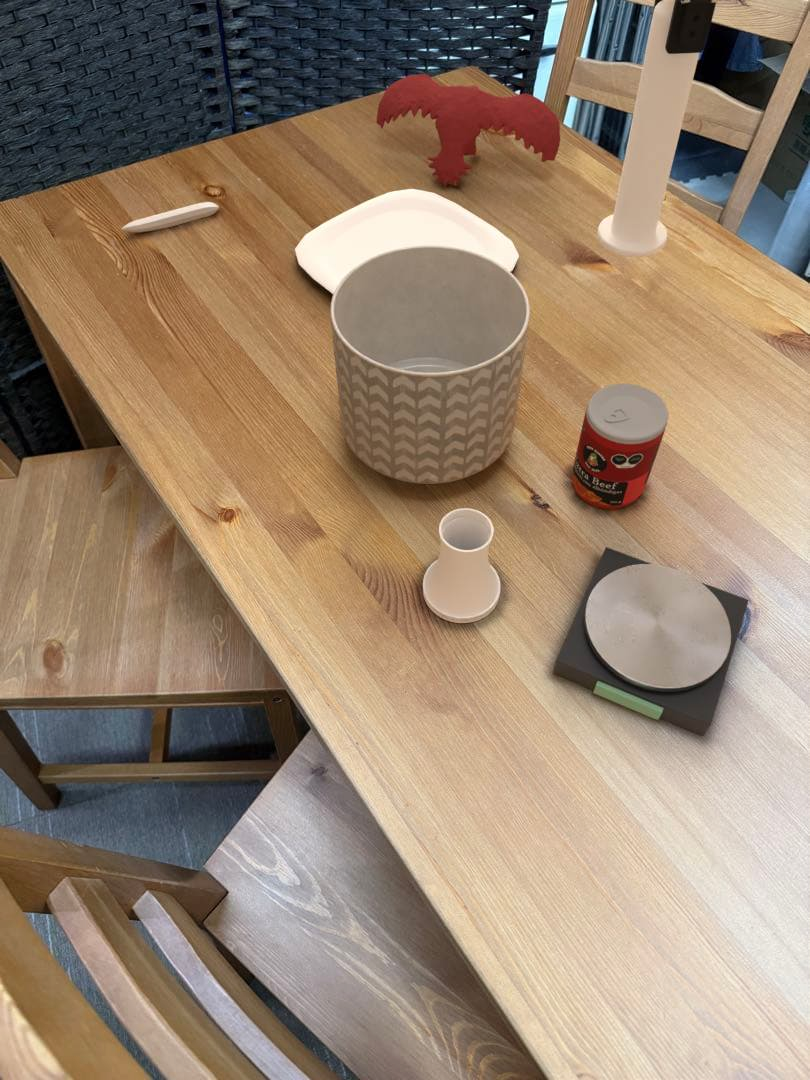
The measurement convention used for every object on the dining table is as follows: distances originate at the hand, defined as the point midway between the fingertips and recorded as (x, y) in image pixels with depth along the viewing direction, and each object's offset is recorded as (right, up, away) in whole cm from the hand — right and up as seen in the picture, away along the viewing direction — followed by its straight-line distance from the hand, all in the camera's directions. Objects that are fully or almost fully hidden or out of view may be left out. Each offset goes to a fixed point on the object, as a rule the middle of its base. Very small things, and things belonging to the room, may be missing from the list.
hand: (677, 34), depth 73 cm
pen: (-56, +1, +47) cm, 73 cm away
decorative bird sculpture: (-15, +13, +55) cm, 59 cm away
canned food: (-1, -37, +19) cm, 42 cm away
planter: (-21, -32, +23) cm, 44 cm away
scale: (0, -53, +7) cm, 53 cm away
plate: (-23, -6, +42) cm, 48 cm away
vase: (-18, -48, +11) cm, 53 cm away
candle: (0, -12, +16) cm, 20 cm away
